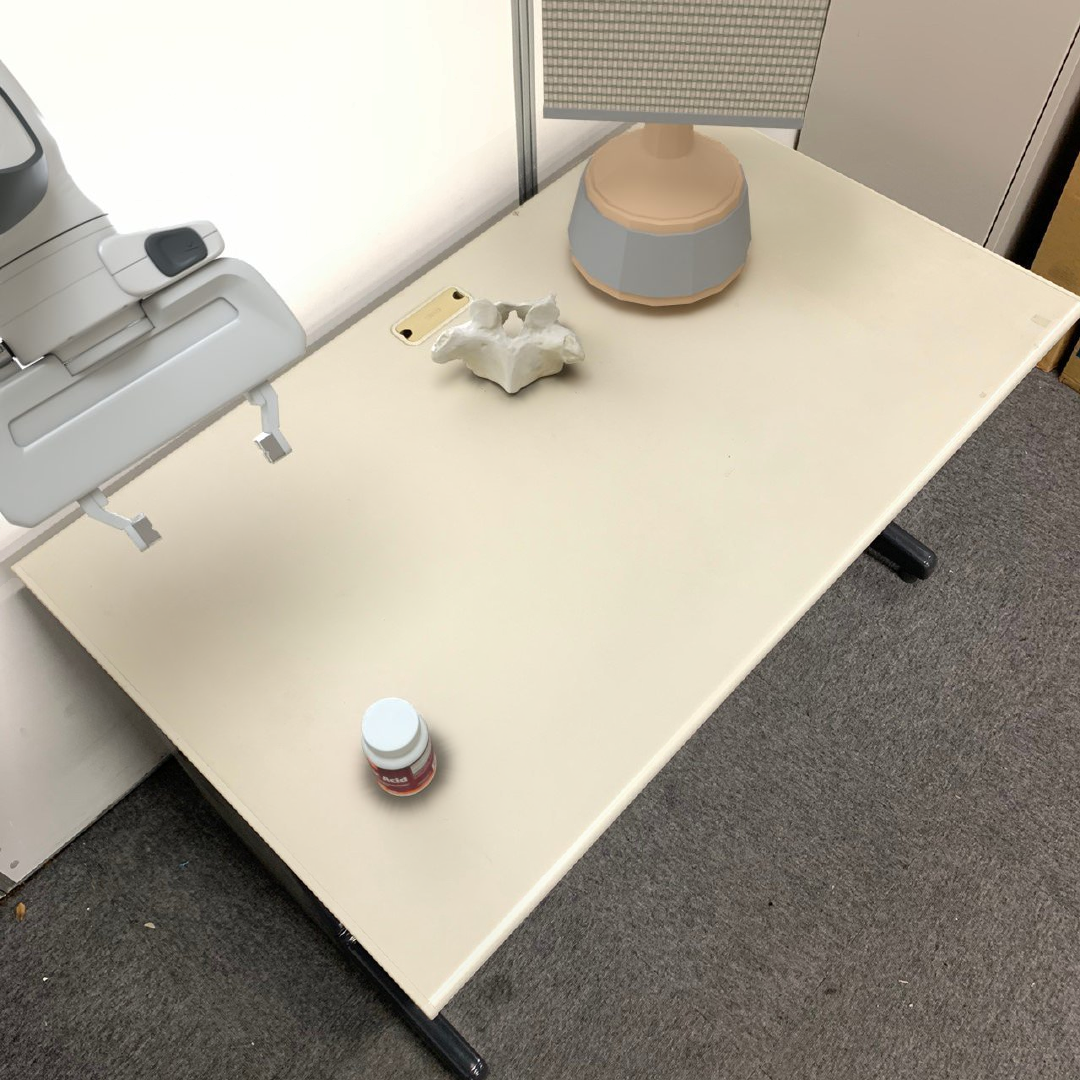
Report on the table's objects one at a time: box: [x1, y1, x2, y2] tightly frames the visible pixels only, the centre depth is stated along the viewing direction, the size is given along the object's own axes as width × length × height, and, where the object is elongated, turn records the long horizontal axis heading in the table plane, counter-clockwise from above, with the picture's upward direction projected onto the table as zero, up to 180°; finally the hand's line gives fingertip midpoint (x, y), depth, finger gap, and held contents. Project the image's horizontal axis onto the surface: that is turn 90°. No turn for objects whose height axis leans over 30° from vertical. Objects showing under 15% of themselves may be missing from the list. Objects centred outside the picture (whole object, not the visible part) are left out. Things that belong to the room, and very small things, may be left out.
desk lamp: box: [541, 0, 830, 307], centre depth 91 cm, size 22×19×37 cm
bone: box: [430, 292, 586, 394], centre depth 94 cm, size 9×14×8 cm, turn 104°
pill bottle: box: [360, 696, 437, 797], centre depth 72 cm, size 5×5×8 cm
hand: (217, 500), depth 62 cm, fingers open, 8 cm apart
